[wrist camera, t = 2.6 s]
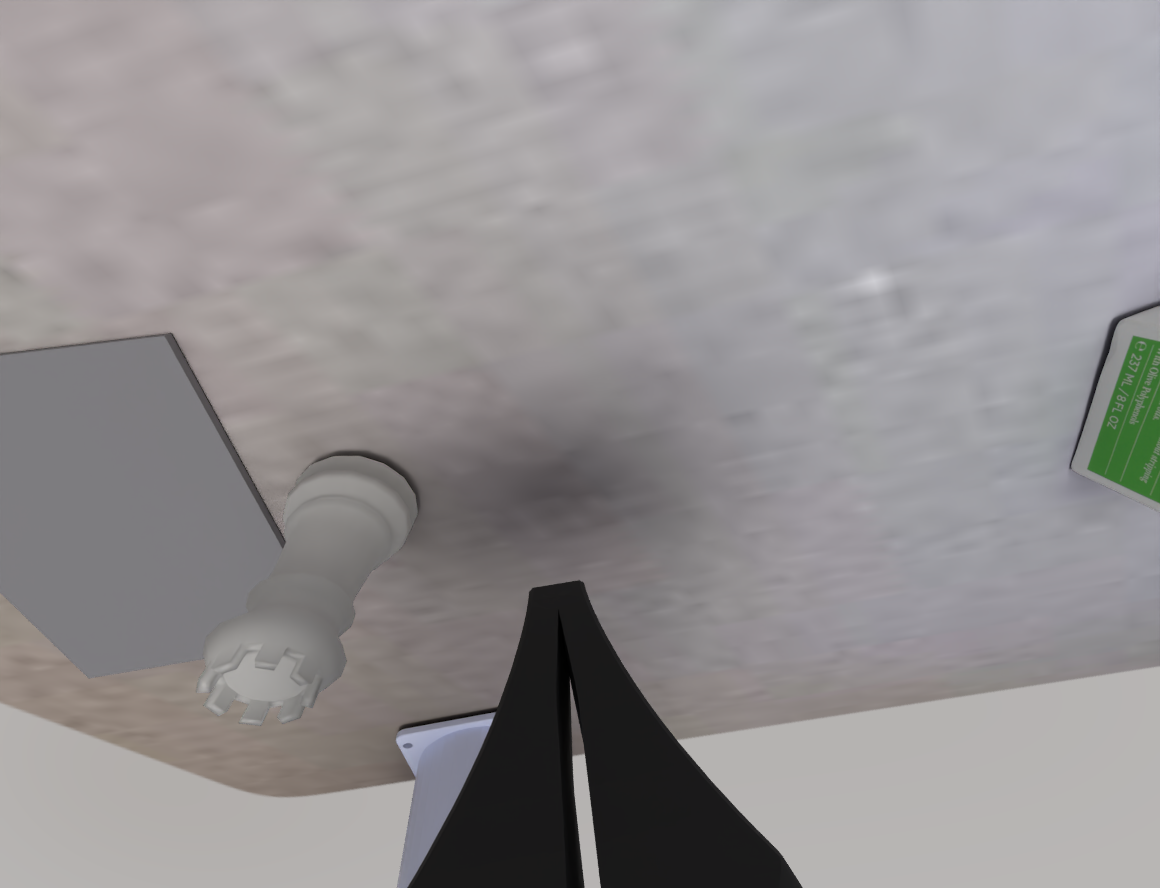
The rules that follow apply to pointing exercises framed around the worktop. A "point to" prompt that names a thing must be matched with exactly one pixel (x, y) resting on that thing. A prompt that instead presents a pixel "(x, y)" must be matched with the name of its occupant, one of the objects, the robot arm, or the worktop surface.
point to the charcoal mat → (123, 505)
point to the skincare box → (1126, 414)
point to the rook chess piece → (309, 590)
